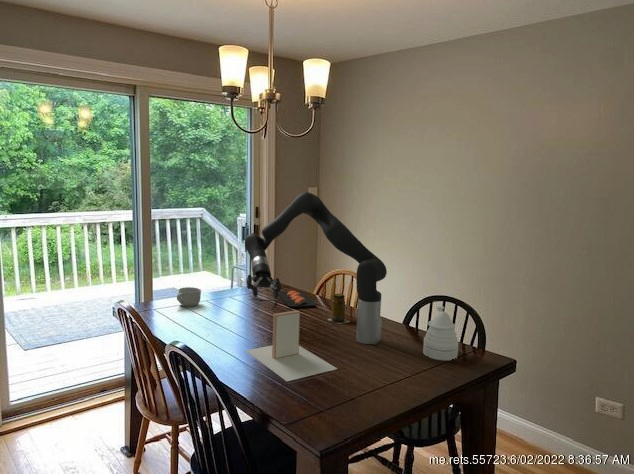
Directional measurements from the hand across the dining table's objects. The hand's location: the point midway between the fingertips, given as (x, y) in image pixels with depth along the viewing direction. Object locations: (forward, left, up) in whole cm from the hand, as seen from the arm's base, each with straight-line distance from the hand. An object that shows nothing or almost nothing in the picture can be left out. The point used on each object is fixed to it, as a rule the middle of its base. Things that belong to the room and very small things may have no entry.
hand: (266, 296), depth 196 cm
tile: (-20, +17, -15) cm, 31 cm away
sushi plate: (+22, -47, -17) cm, 54 cm away
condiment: (-17, -34, -16) cm, 41 cm away
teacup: (+55, -13, -16) cm, 58 cm away
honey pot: (-67, -19, -16) cm, 72 cm away
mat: (-23, +19, -16) cm, 34 cm away
